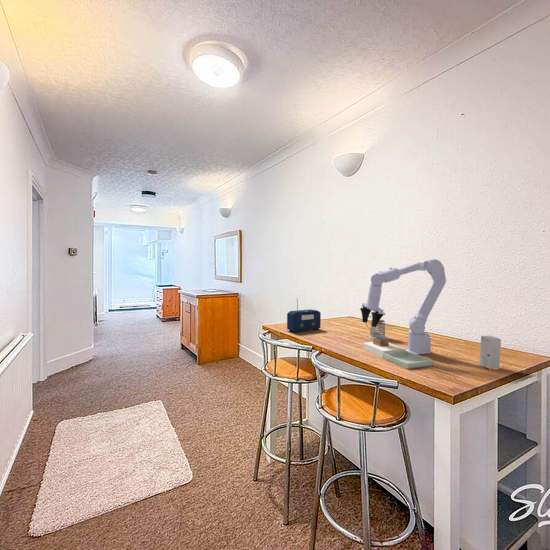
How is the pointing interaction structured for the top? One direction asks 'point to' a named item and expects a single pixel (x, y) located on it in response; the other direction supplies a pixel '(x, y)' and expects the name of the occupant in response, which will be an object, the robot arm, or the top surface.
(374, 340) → the walnut tile
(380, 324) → the french press
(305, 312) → the radio
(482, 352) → the skincare box
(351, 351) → the top surface
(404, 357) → the tray
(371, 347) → the board
